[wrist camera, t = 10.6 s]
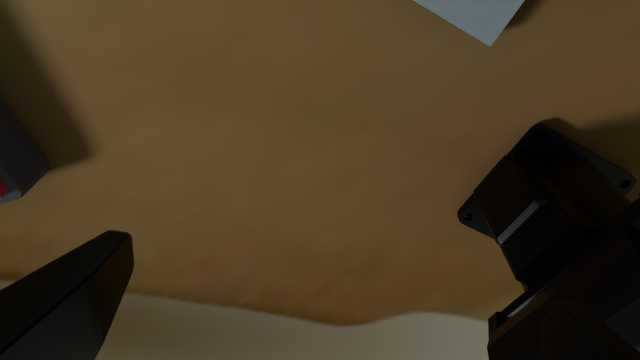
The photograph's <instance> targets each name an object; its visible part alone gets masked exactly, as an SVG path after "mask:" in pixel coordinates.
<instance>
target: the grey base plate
mask: <svg viewBox="0 0 640 360" xmlns="http://www.w3.org/2000/svg"><path fill="white" fill-rule="evenodd" d="M414 1H415V2H417V3H419V4H420V5H422V6H424V7H425V8H427V9H428V10H430V11H432V12H433V13H435V14H437V15H438V16H440V17H442V18H443V19H445V20H447V21H448V22H450V23H452V24H453V25H455V26H457V27H458V28H460V29H462V30H463V31H465V32H467V33H468V34H470V35H472V36H473V37H475V38H477V39H478V40H480V41H481V42H483V43H485V44H486V45H488V46H490V47H491V45H492V44H493V43H494V41H495V40H496V39H497V37H498V36H499V35H500V33H501V32H502V31H503V29H504V28H505V26H506V25H507V24H508V22H509V21H510V20H511V18H512V17H513V16H514V14H515V13H516V12H517V10H518V9H519V7H520V6H521V5H522V3H523V2H524V1H525V0H414Z"/></svg>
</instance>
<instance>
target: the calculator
mask: <svg viewBox="0 0 640 360" xmlns="http://www.w3.org/2000/svg"><path fill="white" fill-rule="evenodd" d="M49 169H50V164H49V162H48V161H47V159H46V158H45V157H44V155H43V154H42V153H41V151H40V150H39V149H38V147H37V146H36V145H35V143H34V142H33V141H32V139H31V138H30V137H29V135H28V134H27V133H26V131H25V130H24V129H23V127H22V126H21V125H20V123H19V122H18V121H17V119H16V118H15V117H14V115H13V114H12V113H11V111H10V110H9V109H8V107H7V106H6V105H5V103H4V102H3V101H2V99H1V98H0V204H2V203H6V202H9V201H13V200H16V199H19V198H21V197H23V196H24V195H25V194H26V193H27V192H28V191H29V190H30V189H31V188H32V187H33V186H34V185H35V184H36V183H37V182H38V181H39V180H40V179H41V178H42V177H43V176H44V175H45V174H46V173H47V172H48V170H49Z"/></svg>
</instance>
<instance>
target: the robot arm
mask: <svg viewBox="0 0 640 360" xmlns="http://www.w3.org/2000/svg"><path fill="white" fill-rule="evenodd" d="M540 132H544V133H543V135H542V136H541V137H539V138H536V136H537V134H538V133H540ZM624 180H626V181H625V182H624V183H622V184H620V183H621V182H622V181H624ZM635 184H636V179H635V178H634V177H633V176H632V175H631V174H630V173H628V172H627V171H625V170H623V169H621V168H620V167H618V166H616V165H614V164H613V163H611V162H609V161H607V160H606V159H604V158H602V157H600V156H599V155H597V154H595V153H594V152H592V151H590V150H588V149H587V148H585V147H583V146H581V145H580V144H578V143H576V142H574V141H573V140H571V139H569V138H567V137H566V136H564V135H562V134H560V133H559V132H557V131H555V130H553V129H552V128H550V127H548V126H546V125H544V124H537V125H534V126H533V127H531V128H530V129H529V130H528V132H527V133H526V134H525V135H524V136H523V137H522V138H521V140H520V141H519V142H518V143H517V144H516V145H515V146H514V147H513V149H512V150H511V151H510V152H509V153H508V154H507V155H506V156H504V157H503V158H502V159H501V160H500V161H499V162H498V163H497V165H496V166H495V167H494V168H493V169H492V170H491V171H490V173H489V174H488V175H487V176H486V177H485V178H484V179H483V181H482V182H481V183H480V184H479V185H478V186H477V187H476V189H475V190H474V193H473V194H472V195H471V196H470V197H469V199H468V200H467V201H466V202H465V203H464V204H463V205H462V207H461V208H460V209H459V210H458V212H457V216H458V218H459V221H460V222H461V223H462V224H464V225H466V226H468V227H470V228H472V229H474V230H476V231H478V232H481V233H483V234H485V235H487V236H489V237H491V238H493V239H495V241H496V243H497V244H499V246H500V248H501V250H502V252H503V254H504V256H505V258H506V260H507V262H508V264H509V266H510V268H511V270H512V272H513V275H514V277H515V279H516V280H517V281H519V282H520V283H521V285H522V287H523V289H524V291H525V292H524V293H523V294H522V295H520V296H519V297H518V298H517V299H516V300H514V301H513V302H512V303H511V304H510V305H508V306H507V307H506V308H505V309H503V310H502V311H501V312H496V313H495V314H494V315H492V316H491V317H490V318H489V319H488V327H489V342H488V346H487V349H488V356H489V360H640V197H639V198H638V199H637V200H636V201H634V202H633V203H631V202H630V201H629V200H628V199H627V198H626V197H625V196H624V195H625V194H627V193H628V192H629V191H630V190H631V189H632V188H633V187H634V186H635ZM639 195H640V193H639ZM466 214H471V215H469V216H467V217H464V215H466ZM133 268H134V256H133V245H132V237H131V235H130V234H129V233H127V232H122V231H115V230H109V231H106V232H104V233H102V234H100V235H99V236H97V237H95V238H93V239H91V240H90V241H88V242H86V243H84V244H83V245H81V246H79V247H77V248H75V249H74V250H72V251H70V252H68V253H66V254H65V255H63V256H61V257H59V258H57V259H56V260H54V261H52V262H50V263H48V264H47V265H45V266H43V267H41V268H39V269H38V270H36V271H34V272H32V273H31V274H29V275H27V276H25V277H23V278H22V279H20V280H18V281H16V282H14V283H13V284H11V285H9V286H7V287H5V288H4V289H2V290H0V360H95V358H96V356H97V355H98V353H99V351H100V349H101V347H102V345H103V343H104V341H105V338H106V336H107V334H108V331H109V329H110V327H111V324H112V321H113V319H114V317H115V314H116V312H117V309H118V307H119V304H120V302H121V300H122V297H123V295H124V292H125V290H126V287H127V285H128V282H129V280H130V277H131V275H132V272H133Z"/></svg>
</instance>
